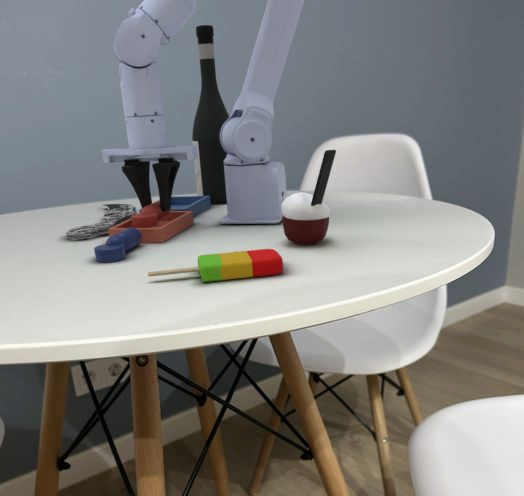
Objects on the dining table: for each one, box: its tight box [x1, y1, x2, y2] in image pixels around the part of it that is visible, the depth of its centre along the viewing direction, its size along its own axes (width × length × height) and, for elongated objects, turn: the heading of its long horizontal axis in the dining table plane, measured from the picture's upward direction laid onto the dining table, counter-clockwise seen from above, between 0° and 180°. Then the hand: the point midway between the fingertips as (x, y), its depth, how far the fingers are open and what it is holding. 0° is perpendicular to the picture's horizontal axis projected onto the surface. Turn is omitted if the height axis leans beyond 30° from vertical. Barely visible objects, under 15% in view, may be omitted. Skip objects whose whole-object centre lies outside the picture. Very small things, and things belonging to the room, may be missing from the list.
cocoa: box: [281, 149, 337, 246], centre depth 75 cm, size 10×6×12 cm, turn 9°
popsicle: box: [147, 248, 284, 283], centre depth 65 cm, size 6×15×2 cm, turn 100°
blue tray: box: [138, 195, 212, 218], centre depth 103 cm, size 8×13×2 cm, turn 167°
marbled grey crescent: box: [65, 203, 138, 241], centre depth 100 cm, size 28×2×10 cm
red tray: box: [108, 211, 194, 244], centre depth 89 cm, size 8×13×2 cm, turn 167°
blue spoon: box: [93, 227, 142, 263], centre depth 78 cm, size 10×4×3 cm, turn 167°
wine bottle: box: [191, 24, 230, 205], centre depth 107 cm, size 8×8×30 cm
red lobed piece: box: [131, 199, 170, 228], centre depth 88 cm, size 10×4×3 cm, turn 167°
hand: (156, 210), depth 90 cm, fingers closed on red lobed piece, 2 cm apart
